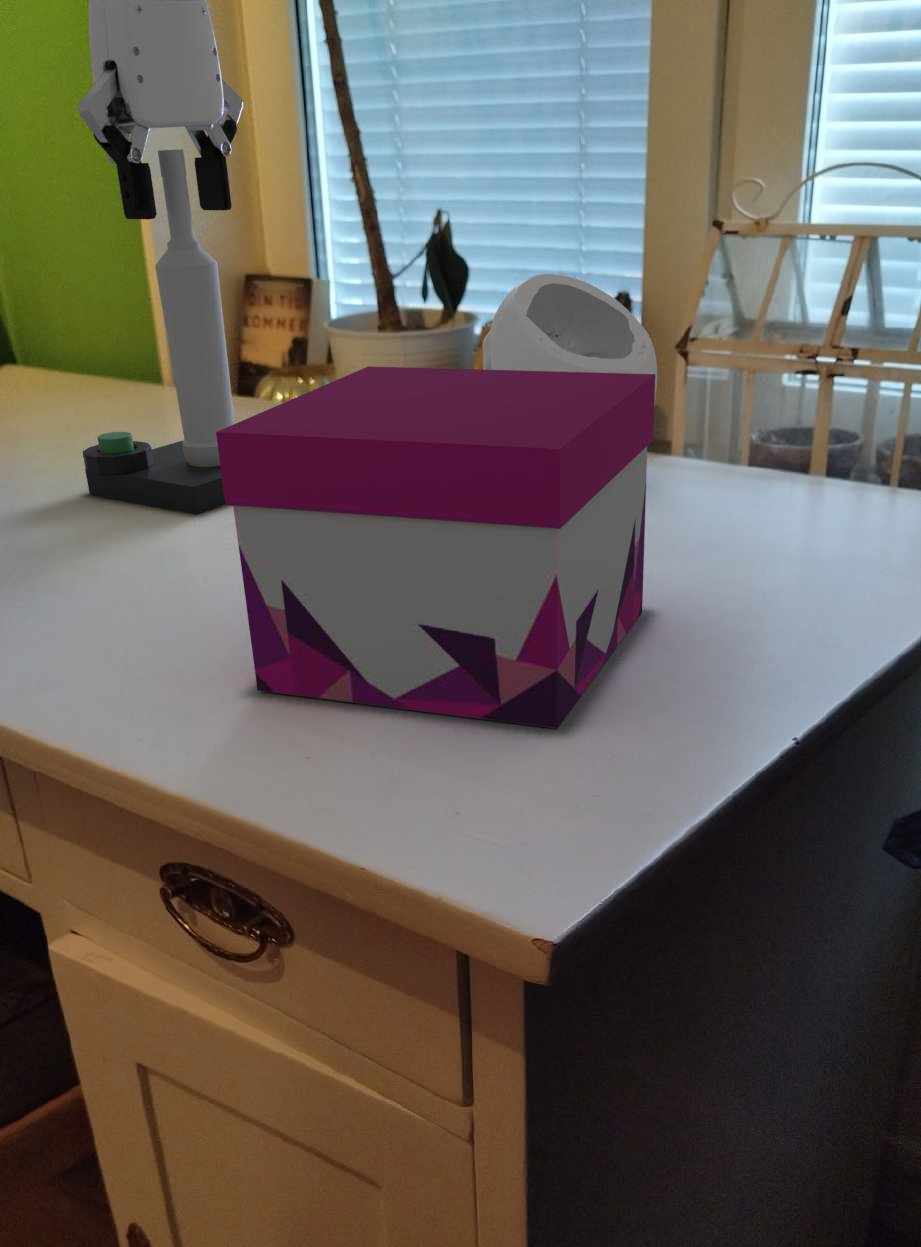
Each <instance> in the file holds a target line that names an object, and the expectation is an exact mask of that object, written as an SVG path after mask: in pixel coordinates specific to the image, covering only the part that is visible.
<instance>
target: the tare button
mask: <svg viewBox="0 0 921 1247" xmlns="http://www.w3.org/2000/svg"><path fill="white" fill-rule="evenodd" d="M133 441H134V440H133V435H132V433H131V432H129V431H111V432H106V433H102V434H99V435H98V436H97V443H98V445H99V449H100V453H103V454H112V453H122V452H128V451H131V450H134V445H133Z"/></svg>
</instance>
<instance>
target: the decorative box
mask: <svg viewBox="0 0 921 1247" xmlns="http://www.w3.org/2000/svg"><path fill="white" fill-rule="evenodd" d="M654 401H655V402H656V398H655V374H629V373H592V372H555V371H518V370H483V369H480V368H479V369H475V368H443V367H441V368H439V367H407V366H406V367H405V366H403V367H402V366H370V365H369V366H365V367H363V368H361V369H359V370H356V371H354V372H352V373H349V374H346V375H345V376H342V377H340V378H338V379H336V380H333V381H331V382H329V383H326V384H324V385H322V386H319V387H317V388H314V389H313V390H310V391H307V392H306V393H304V394H301V395H298V396H296V397H294V398H291V399H289V400H287V401H285V402H282V403H280V404H278V405H275V406H273V407H271V408H269V409H266V410H264V411H262V412H259V413H257V414H255V415H252V416H249V417H247V418H245V419H242V420H241V421H238V422H236V423H235V424H234V425H231V426H229V427H227V428H224V429H222V430H220V431H217V432H216V437H217V444H218V452H219V459H220V467H221V474H222V481H223V489H224V496H225V506H231V507H233V513H234V514H233V515H234V522H235V529H236V537H237V544H238V553H239V559H240V568H241V576H242V582H243V590H244V597H245V605H246V613H247V621H248V622H247V623H248V629H249V636H250V643H251V651H252V658H253V664H254V665H253V666H254V674H255V682H256V683H255V684H256V688H257V691H259V692H267V693H273V694H274V693H275V694H282V695H290V696H298V697H299V696H300V697H306V698H314V699H320V700H321V699H322V700H331V701H339V702H345V703H354V704H362V705H369V706H377V707H385V708H393V709H400V710H409V711H416V712H426V713H434V714H440V715H449V716H455V717H465V718H471V719H479V720H480V719H481V720H489V721H496V722H503V723H511V724H520V725H528V726H535V727H544V728H550V729H551V728H552V729H559V727H560V725H561V724H562V723H563V721H564V720H565V718H566V717H567V716H568V715H569V713H570V712H571V710H572V709H573V707H574V706H575V705H576V703H577V702H578V701H579V699H580V698H581V697H582V696H583V694H584V692H585V691H586V690H587V689H588V687H589V686H590V685H591V684H592V682H593V680H594V679H595V678H596V676H598V674H599V672H600V671H601V670H602V668H603V667H604V666H605V664H606V662H607V661H608V660H609V658H610V657H611V656H612V654H613V653H614V652H615V650H616V649H617V647H618V646H619V645H620V644H621V642H622V641H623V639H624V638H625V637H626V636H627V634H628V633H629V631H630V630H631V629H632V627H633V626H634V624H635V623H636V622H637V621H638V619H639V617H640V616H641V615H642V614H643V602H644V601H643V599H644V570H645V569H644V568H645V567H644V565H645V535H646V534H645V533H646V530H645V529H646V500H647V499H646V498H647V469H648V467H647V466H648V462H647V461H648V446H649V445H650V444H651V443H652V442H653V441H654V428H655V405H654Z"/></svg>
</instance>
